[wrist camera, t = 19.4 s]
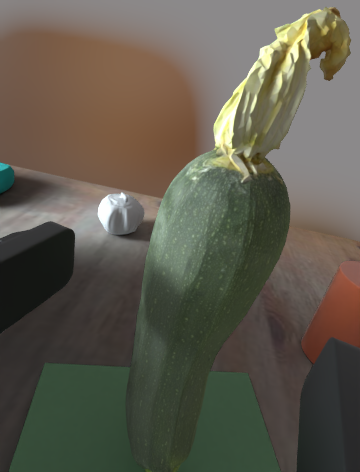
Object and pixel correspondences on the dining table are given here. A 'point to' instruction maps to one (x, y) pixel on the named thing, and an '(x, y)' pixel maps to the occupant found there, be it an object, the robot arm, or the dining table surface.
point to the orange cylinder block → (336, 312)
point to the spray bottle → (6, 177)
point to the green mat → (115, 426)
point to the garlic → (120, 214)
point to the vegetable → (218, 242)
